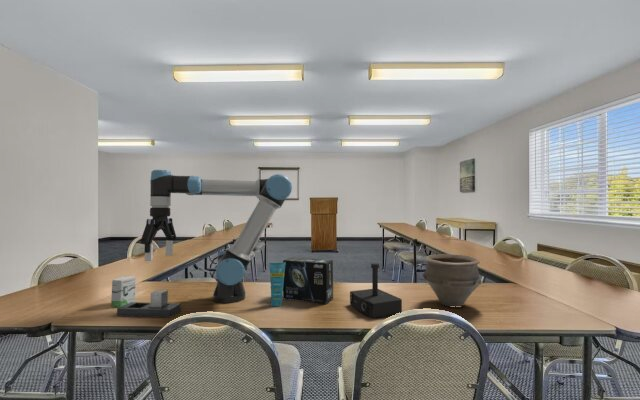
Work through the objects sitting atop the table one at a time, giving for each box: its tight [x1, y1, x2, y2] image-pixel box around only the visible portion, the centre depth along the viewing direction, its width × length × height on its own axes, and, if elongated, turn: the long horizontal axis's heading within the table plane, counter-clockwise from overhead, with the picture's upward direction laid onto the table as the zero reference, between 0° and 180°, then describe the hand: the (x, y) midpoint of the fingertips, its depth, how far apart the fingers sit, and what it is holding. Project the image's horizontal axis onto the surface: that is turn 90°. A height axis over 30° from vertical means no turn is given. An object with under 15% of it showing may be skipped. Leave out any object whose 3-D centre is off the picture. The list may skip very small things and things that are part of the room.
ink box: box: [110, 275, 137, 308], centre depth 133 cm, size 9×5×12 cm, turn 171°
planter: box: [422, 253, 483, 307], centre depth 135 cm, size 25×24×22 cm
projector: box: [349, 262, 403, 319], centre depth 128 cm, size 19×17×20 cm
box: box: [282, 257, 334, 305], centre depth 143 cm, size 23×10×19 cm, turn 68°
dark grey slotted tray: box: [116, 301, 182, 319], centre depth 121 cm, size 22×8×3 cm, turn 86°
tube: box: [268, 261, 286, 307], centre depth 133 cm, size 7×5×19 cm, turn 103°
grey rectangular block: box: [149, 289, 169, 309], centre depth 121 cm, size 4×4×9 cm
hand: (159, 258), depth 122 cm, fingers open, 13 cm apart
